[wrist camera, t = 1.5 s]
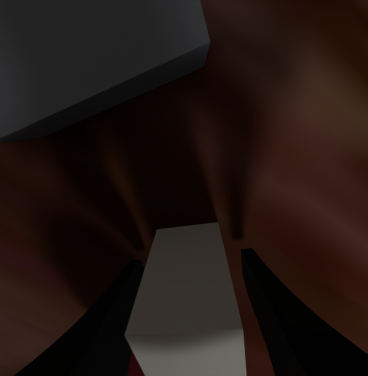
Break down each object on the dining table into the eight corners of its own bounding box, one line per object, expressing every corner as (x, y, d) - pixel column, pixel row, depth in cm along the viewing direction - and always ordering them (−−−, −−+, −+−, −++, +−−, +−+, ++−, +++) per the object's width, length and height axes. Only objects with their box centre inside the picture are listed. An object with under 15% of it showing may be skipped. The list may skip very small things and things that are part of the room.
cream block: (218, 222, 11) (242, 328, 6) (223, 268, 13) (247, 388, 7) (156, 229, 12) (124, 335, 6) (169, 273, 13) (152, 390, 8)
